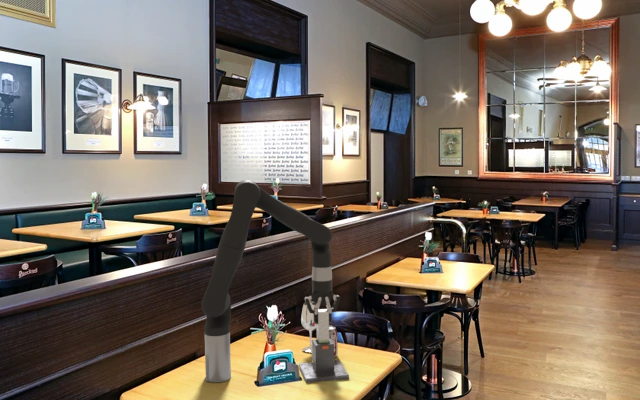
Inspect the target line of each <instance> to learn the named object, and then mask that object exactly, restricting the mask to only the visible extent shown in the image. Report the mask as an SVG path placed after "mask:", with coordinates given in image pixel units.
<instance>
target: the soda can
mask: <svg viewBox="0 0 640 400" xmlns="http://www.w3.org/2000/svg"><path fill="white" fill-rule="evenodd" d="M329 338H330V339H331V340H332V342H333V343H334V358H335V357H337V356H338V331H337V329H336V326H333V325H329Z"/></svg>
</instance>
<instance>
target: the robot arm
mask: <svg viewBox="0 0 640 400" xmlns="http://www.w3.org/2000/svg"><path fill="white" fill-rule="evenodd" d="M256 208H258V209H259V210H262V211H263V212H266V213H267V214H268V215H270V216H271V217H273V218H274V219H275V220H276V221H278V222H280V223H281V224H283V225H285V226H286V227H288V228H290V229H291V230H293V231H295V232H297V233H299V234H302V235H303V236H304V237H306V238H308V239H309V240H310V241H311V242H310V243H311V250H312V267H311V268H312V269H311V294H310V295H309V296H305V297H304V298H303V299H304V301H305V302H304V303H306V305H307V308H308V310H309V312H310V313H313V314H314V322H315V323H316V324H318V314H317V313H318V309H320V306H326V309H327V310H328V311H329V324H331V323H332V317H333V316H332V315H333V313H334V312H337V310H338V307H339V304H340V300H341V296H340V295H338V294H334V293H333V271H332V255H331V252H330V251H331V250H330V242H331V241H332V239H333V232H332V230H331V229H330V227H328V226H326V225H324V224H322V223H321V222H318V221H316V220H314V219H312V218H311V217H310V216H308V215H307V214H305V213H303V212H302V211H300V210H298V209H296V208H294V207H293V206H291V205H288V204H286V203H284V202H283V201H281V200H279V199H277V198H276V197H274V196H272V195H271V194H270V193H268V192H267V191H266V190H264V189H263V188H262V187H260V186H259V185H258V184H257V183H256V182H255V181H254V180H250V179H244V180H241V181H239V182H237V184H236V185H235V188H234V196H233V202H232V207H231V212H230V215H229V218H228V219H229V220H228V221H227V223H226V225H225V227H224V230H223V232H222V234H221V237H220V240H219V244H218V247H217V251H216V255H215V258H214V262H213V267H212V272H211V275H210V279H209V283H208V286H207V287H206V290H205V292H204V294H203V297H202V300H201V310H202V312H203V314H204V315H205V316H206V319H205V324H204V328H203V329H204V359H205V360H204V363H205V365H204V366H205V367H204V369H205V382H210V383H222V382H223V383H224V382H226V381H228V380H230V379H231V378H232V371H231V370H232V367H231V364H232V363H231V361H232V360H231V331H230V329H231V323H232V301H231V300H232V299H231V296H230V294H229V288H230V285H231V282H232V281H233V278H234V276H235V274H236V272H237V271H238V269H239V266H240V263H241V261H242V258H243V256H244V251H245V250H246V249H245V248H246V244H247V240H248V236H249V228H250V224H251V220H252V218H253V215H254V212H255V210H256ZM332 299H333V304H332V306H331V303H330V302H331V301H332ZM312 300H313V302H314V303H315V305H314V310H313V309H312V308H311V305H310V302H312Z"/></svg>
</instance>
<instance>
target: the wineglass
mask: <svg viewBox="0 0 640 400" xmlns="http://www.w3.org/2000/svg"><path fill="white" fill-rule="evenodd" d="M310 305H311V308H312V309H313V310H314V305H315V302H314V301H311V302H310ZM301 310H302V311H301V318H300V321H301V326H302V327H303V328H304V329H305V330H306V331H309V346H305V347H303V348H302V349H303V351H305V352H309V353H308V354H312V340H313V338H312V336H313V335H312V334H313V331H314V330H317V329H316V323H315V322H314V314H313V313H310V312H309V310H308V308H307V305H306V302H304V303H303V306H302V309H301ZM303 351H302V352H303ZM305 352H304V353H305Z"/></svg>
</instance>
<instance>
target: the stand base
mask: <svg viewBox="0 0 640 400" xmlns="http://www.w3.org/2000/svg"><path fill="white" fill-rule="evenodd" d="M311 360H312V361H311V362H310V361H309V362H299V363H298V368H299V367H300V368H299V370H300V372H301V375H302V376H303V377H302V378H303V379H304V380H305V381H304V382H305V383H306V384H308V383H319V382H328V381H329V382H330V381H340V380H350V374H349V373H348V371H347V370H346V368H345V367H344V365H343V363H342V362H341V361H340V359H335V357H334V343H333V342H332V340H331V339H330V338H329V344H317V338H316V339H313V338H312V353H311Z"/></svg>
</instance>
